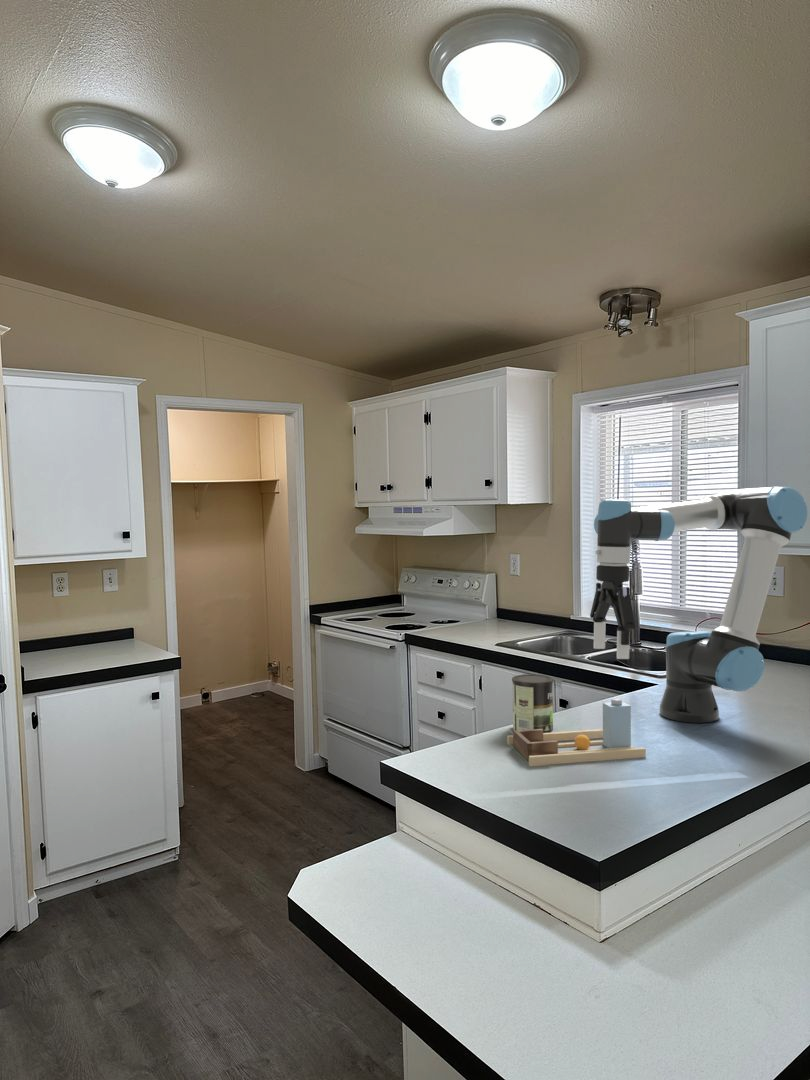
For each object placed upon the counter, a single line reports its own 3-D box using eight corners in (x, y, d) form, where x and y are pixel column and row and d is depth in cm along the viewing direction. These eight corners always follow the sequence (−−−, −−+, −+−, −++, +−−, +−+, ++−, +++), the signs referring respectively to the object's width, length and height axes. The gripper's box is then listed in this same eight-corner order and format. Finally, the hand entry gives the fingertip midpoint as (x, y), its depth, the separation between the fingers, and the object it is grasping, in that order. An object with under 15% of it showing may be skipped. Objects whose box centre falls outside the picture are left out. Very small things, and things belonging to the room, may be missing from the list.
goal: (541, 745, 172) (541, 728, 172) (557, 759, 162) (557, 741, 162) (513, 747, 170) (513, 730, 170) (527, 761, 161) (527, 743, 161)
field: (613, 740, 178) (613, 728, 178) (645, 762, 162) (645, 748, 162) (507, 747, 173) (507, 735, 173) (530, 771, 158) (530, 757, 158)
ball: (586, 747, 170) (586, 732, 170) (592, 751, 167) (592, 736, 167) (572, 748, 170) (572, 733, 169) (578, 752, 166) (578, 737, 166)
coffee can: (553, 728, 189) (553, 674, 189) (553, 740, 179) (553, 683, 178) (513, 726, 191) (513, 673, 191) (511, 738, 181) (510, 682, 180)
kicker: (622, 743, 172) (622, 697, 172) (630, 748, 168) (630, 701, 168) (602, 744, 171) (602, 698, 171) (610, 750, 167) (610, 702, 167)
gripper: (578, 561, 185) (576, 644, 185) (620, 567, 160) (617, 663, 161) (606, 562, 186) (604, 644, 186) (652, 568, 161) (649, 663, 162)
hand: (610, 653), depth 174 cm, fingers open, 13 cm apart
